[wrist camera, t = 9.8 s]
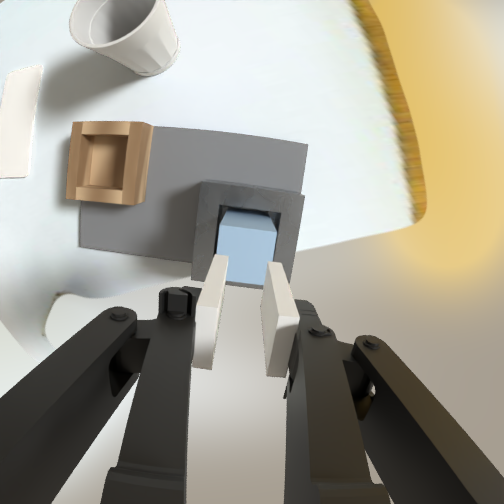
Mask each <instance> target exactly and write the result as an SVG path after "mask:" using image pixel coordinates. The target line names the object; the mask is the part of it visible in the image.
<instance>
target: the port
mask: <svg viewBox="0 0 504 504" xmlns="http://www.w3.org/2000/svg"><path fill="white" fill-rule="evenodd" d="M304 198H305V195H303V194H301V193H299V192H297V191H291V190H284V189H278V188H271V187H264V186H257V185H250V184H243V183H235V182H227V181H219V180H211V179H207V180H204V181H201V186H200V194H199V203H198V212H197V221H196V231H195V241H194V251H193V262H192V274H191V280H195V281H202V282H205V280H206V277H207V274H208V271H209V269H210V266H211V263H212V261H213V258H214V255H215V254H217V245H218V236H219V227H220V223H221V221H222V219H223V217H224V215H225V213H226V211H227V209H228V207H231V208H239V209H247V210H254V211H262V212H268V213H269V216H270V218H271V220H272V222H273V224H274V227H275V229H276V231H277V236H276V242H275V249H274V255H273V261H272V262H279V263H282V266H283V269H284V272H285V275H286V278H287V280H288V283H290V278H291V273H292V267H293V262H294V257H295V251H296V246H297V240H298V234H299V228H300V223H301V217H302V211H303V205H304ZM225 285H232V286H239V287H247V288H255V289H263V288H264V285H257V284H249V283H241V282H232V281H226V282H225Z"/></svg>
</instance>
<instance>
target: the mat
mask: <svg viewBox="0 0 504 504" xmlns="http://www.w3.org/2000/svg"><path fill="white" fill-rule="evenodd" d="M307 150H308V144H303V143H297V142H292V141H286V140H279V139H273V138H266V137H260V136H252V135H245V134H237V133H229V132H220V131H210V130H200V129H188V128H175V127H158V126H154V128H153V135H152V142H151V149H150V157H149V166H148V175H147V185H146V195H145V202H142V203H139V204H136V205H125V204H115V203H105V202H95V201H84V200H81V222H80V247H87V248H93V249H100V250H106V251H113V252H120V253H127V254H133V255H140V256H147V257H154V258H161V259H168V260H175V261H182V262H190V263H192V262H193V251H194V241H195V231H196V221H197V212H198V203H199V194H200V186H201V181H204V180H207V179H211V180H219V181H227V182H235V183H243V184H250V185H257V186H264V187H271V188H278V189H284V190H291V191H297V192H299V193H301V189H302V183H303V176H304V170H305V163H306V157H307Z"/></svg>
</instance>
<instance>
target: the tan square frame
mask: <svg viewBox="0 0 504 504" xmlns="http://www.w3.org/2000/svg"><path fill="white" fill-rule="evenodd" d="M153 128H154V126H152V125H149V124H147V123H144V122H128V121H85V122H73V126H72V133H71V141H70V149H69V159H68V171H67V185H66V199H73V200H84V201H95V202H105V203H115V204H125V205H136V204H139V203H142V202H145V195H146V185H147V175H148V166H149V157H150V149H151V142H152V135H153Z"/></svg>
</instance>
